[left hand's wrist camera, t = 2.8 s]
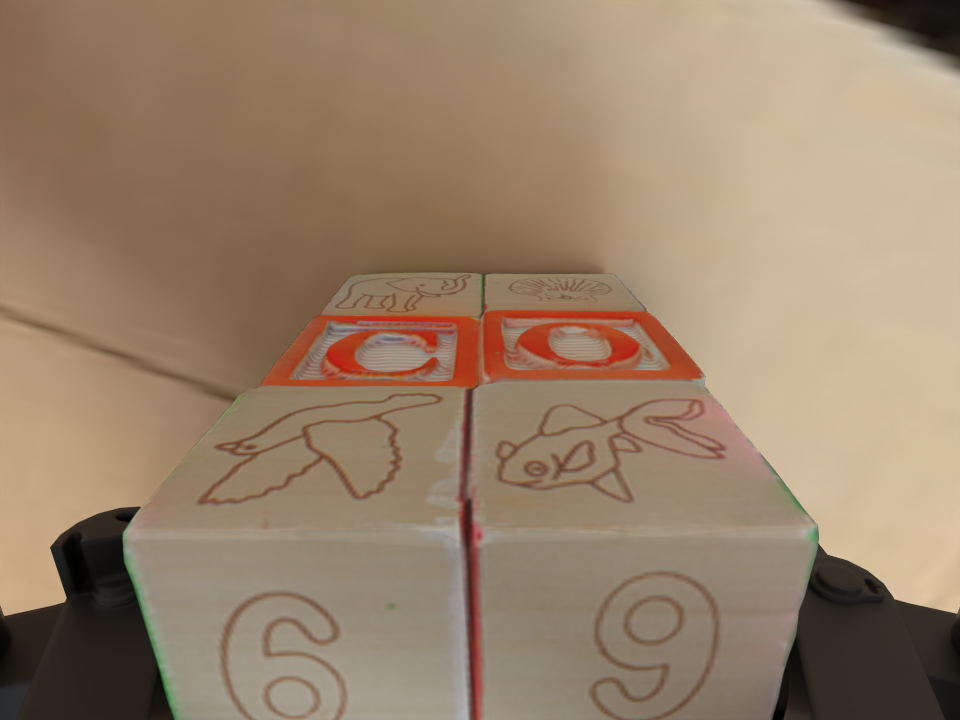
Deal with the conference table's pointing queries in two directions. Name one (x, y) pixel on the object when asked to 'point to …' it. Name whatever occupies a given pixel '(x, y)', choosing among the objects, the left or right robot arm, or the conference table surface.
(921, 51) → the conference table surface
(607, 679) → the stack of blocks
